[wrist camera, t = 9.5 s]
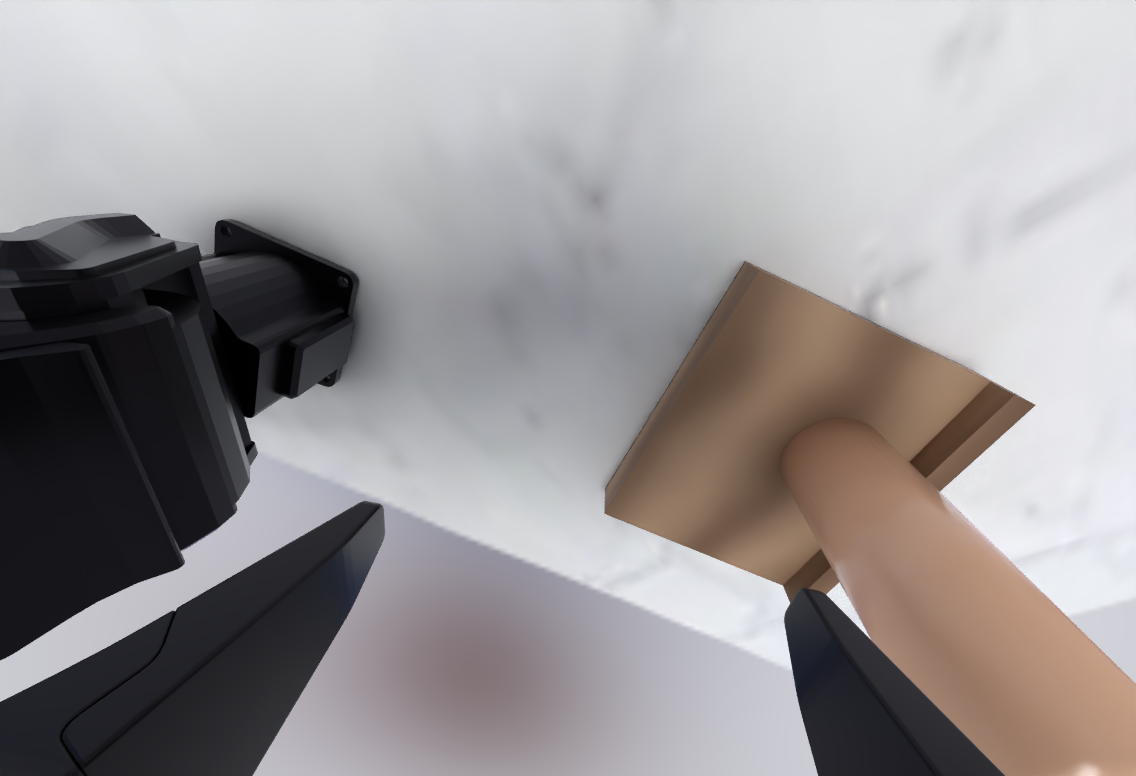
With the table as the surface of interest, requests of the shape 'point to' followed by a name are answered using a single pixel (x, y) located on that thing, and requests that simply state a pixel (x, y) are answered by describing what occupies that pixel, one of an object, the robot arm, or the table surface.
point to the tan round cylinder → (959, 611)
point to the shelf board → (790, 424)
